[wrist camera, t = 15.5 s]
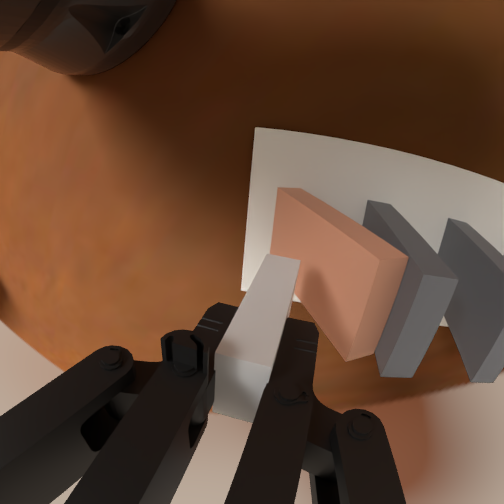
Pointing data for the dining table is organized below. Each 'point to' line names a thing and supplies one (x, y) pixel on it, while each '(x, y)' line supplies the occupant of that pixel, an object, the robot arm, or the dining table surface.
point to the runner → (365, 189)
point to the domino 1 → (409, 293)
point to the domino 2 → (475, 300)
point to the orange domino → (338, 270)
